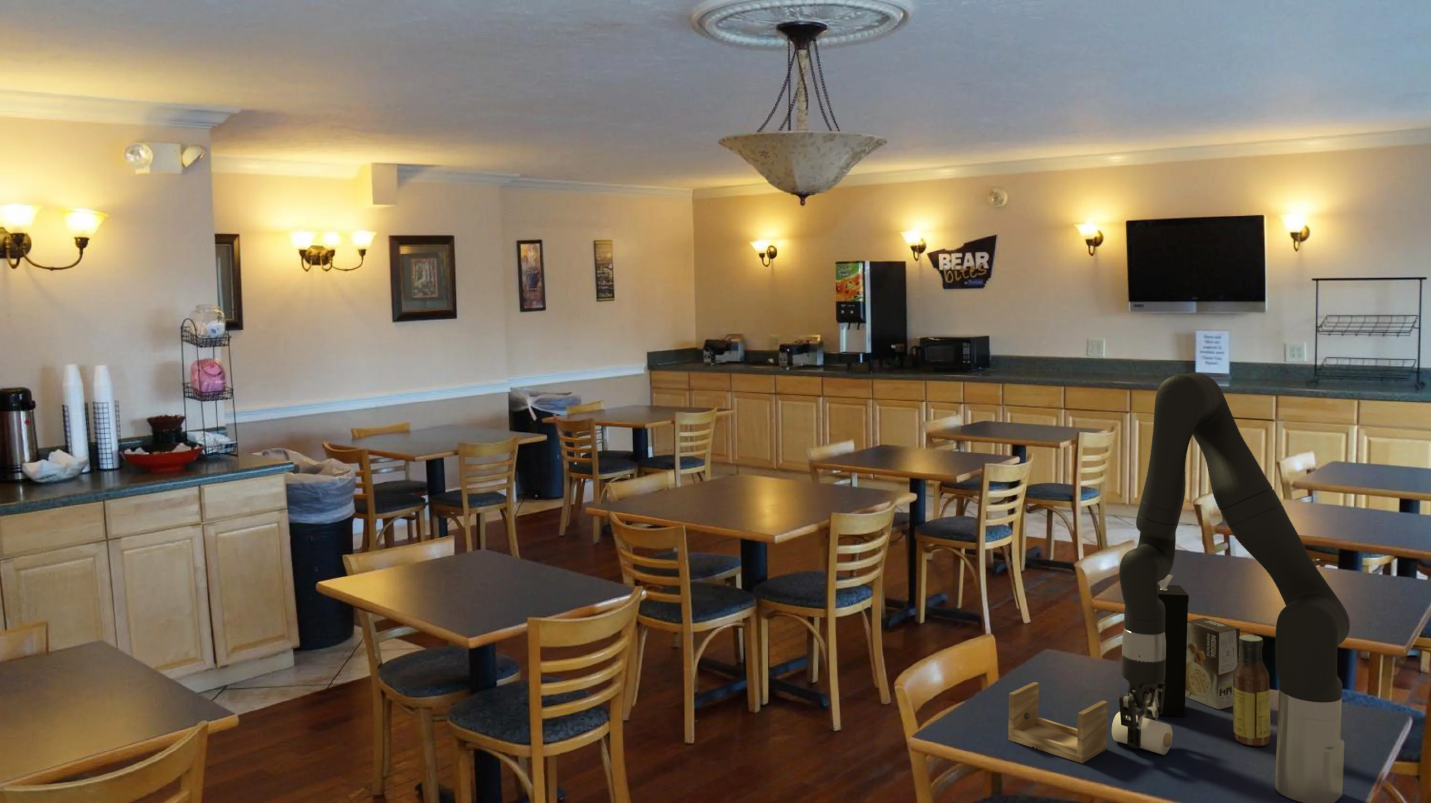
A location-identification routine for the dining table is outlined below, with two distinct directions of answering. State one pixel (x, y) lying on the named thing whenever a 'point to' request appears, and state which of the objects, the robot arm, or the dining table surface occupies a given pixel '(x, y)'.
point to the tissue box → (1174, 646)
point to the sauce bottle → (1251, 694)
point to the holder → (1056, 727)
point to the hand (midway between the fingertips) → (1141, 742)
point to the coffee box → (1211, 662)
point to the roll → (1146, 734)
